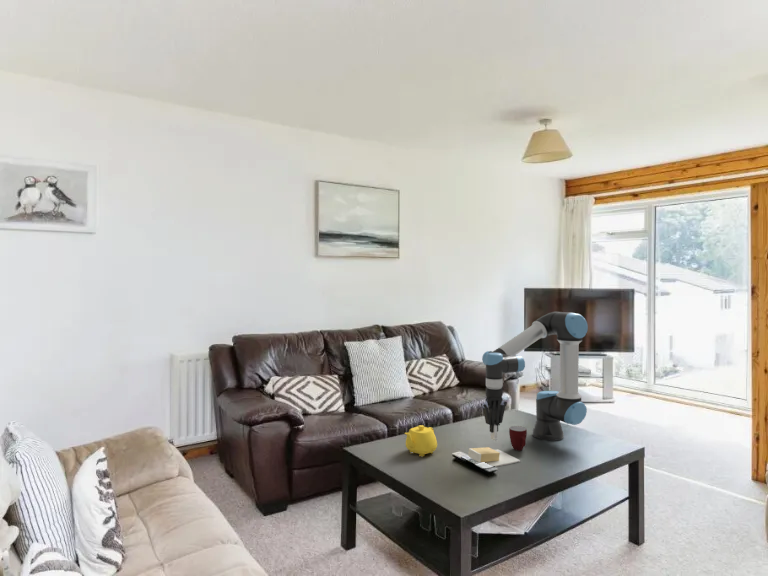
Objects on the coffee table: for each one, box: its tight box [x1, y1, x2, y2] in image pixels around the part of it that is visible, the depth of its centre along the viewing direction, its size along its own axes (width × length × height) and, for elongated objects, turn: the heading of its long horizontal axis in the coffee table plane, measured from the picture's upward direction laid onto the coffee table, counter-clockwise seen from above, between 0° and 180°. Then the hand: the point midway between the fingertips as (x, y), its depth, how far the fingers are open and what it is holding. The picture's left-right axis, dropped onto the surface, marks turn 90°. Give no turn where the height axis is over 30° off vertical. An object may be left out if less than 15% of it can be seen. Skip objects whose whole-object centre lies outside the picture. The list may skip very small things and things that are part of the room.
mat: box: [485, 449, 521, 468], centre depth 226 cm, size 21×16×1 cm
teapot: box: [404, 424, 438, 458], centre depth 234 cm, size 14×20×13 cm
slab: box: [467, 446, 500, 462], centre depth 224 cm, size 4×8×11 cm
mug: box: [508, 425, 528, 452], centre depth 238 cm, size 10×8×10 cm
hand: (493, 439), depth 226 cm, fingers closed
